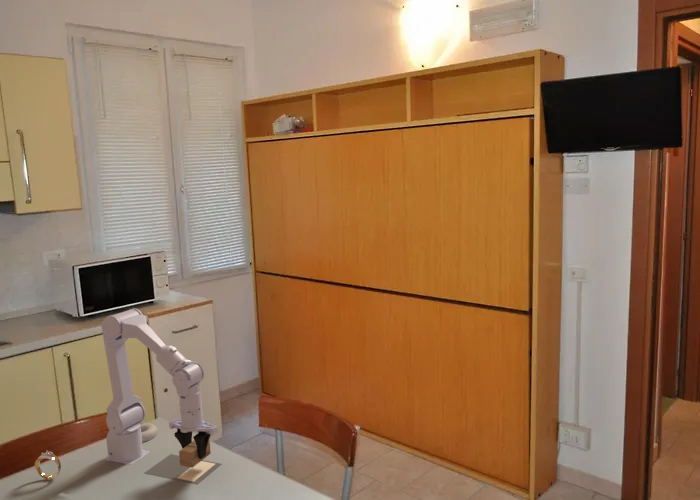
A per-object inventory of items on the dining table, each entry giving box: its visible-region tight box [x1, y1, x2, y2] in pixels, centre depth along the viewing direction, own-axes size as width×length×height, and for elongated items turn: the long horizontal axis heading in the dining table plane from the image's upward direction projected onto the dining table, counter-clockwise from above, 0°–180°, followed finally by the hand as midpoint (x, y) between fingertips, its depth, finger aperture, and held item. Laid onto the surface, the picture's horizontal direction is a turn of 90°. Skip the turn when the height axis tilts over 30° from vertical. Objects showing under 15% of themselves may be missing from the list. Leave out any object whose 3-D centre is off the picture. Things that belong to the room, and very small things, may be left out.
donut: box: [141, 422, 158, 443], centre depth 178 cm, size 10×4×10 cm
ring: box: [34, 449, 62, 481], centre depth 156 cm, size 7×3×8 cm, turn 76°
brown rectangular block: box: [178, 439, 211, 468], centre depth 155 cm, size 8×4×4 cm, turn 157°
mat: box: [144, 453, 223, 485], centre depth 158 cm, size 18×11×1 cm, turn 67°
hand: (195, 455), depth 155 cm, fingers closed on brown rectangular block, 4 cm apart
